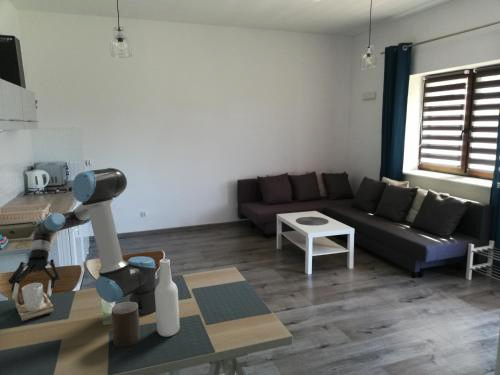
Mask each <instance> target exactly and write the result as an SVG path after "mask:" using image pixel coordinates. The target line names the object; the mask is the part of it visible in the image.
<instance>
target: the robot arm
mask: <svg viewBox="0 0 500 375" xmlns="http://www.w3.org/2000/svg"><path fill="white" fill-rule="evenodd" d="M71 186H72V187H71V188H72V191H71V192H72V194H73V197H74V199H75V200H76V201H77V202H79V203H80V204H79V205H78V206H77V207H76V208H75V209H73V210H72V211H71V210H70V211H68V212H63V213H59V212H53V213H51V214H49V215H47V217H45V219H41V220H38V221H36V223H35V226H34V232H33V238H32V241H31V247H30V252H29V257H28V261H27V262H24V261H21V262H20V263H19V266H18V267H17V268H16V270H15V271H14V272H13V274H12V275H11V277H10V278H9V279H8V282H7V283H9V284H10V285H11V289H10V290H11V292H12V297H11V298H12V299H13V301H15V300H16V299H18V297H17V294H19V289H20V283H21V282H22V281H23V280H24V279H25V278H26V277H27V276H28V275H30V274H31V273H32V272H33V273H36V272H42V271H44V273H45V274H46V275H47V277H48V278H50V279H49V280H48V285H47V292H46V295H47V297H52V291H53V289H54V288H55V286H56V282H57V281H59V280H60V279H61V276H60V274H59V272H58V269H57V268H56V262H55V260H54V259H50V260H48V259H49V255H50V254H49V252H50V249H51V242H52V237H53V236H54V235H55V234H57V232H60V231H63V230H67V229H71V228H74V227H78V226H82V225H85V224H87V223H89V222H90V224H91V228H92V232H93V236H94V241H95V244H96V248H97V253H98V256H99V257H98V258H99V262H100V268H99V269H98V277H97V278H96V280H95V282H94V287H95V291H96V293H97V294H98V295H99V297H100V298H101V299H102V300H103V301H105V302H107V303H114V302H117V301H120V300H122V299H123V298H125V297H127V296H128V299H127V302H135V303H137V305H138V315H139V316H143V315H148V314H151V313H152V314H153V313H155V312H156V304H155V288H156V286H157V273H156V272H157V268H156V262H155V259H153V258H152V257H149V256H140V255H139V256H133V257H129V259H127V261H125V260H124V259H123V255H122V254H123V253H122V250H121V246H120V241H119V239H118V233H117V229H116V224H115V221H114V215H113V212H112V207H111V204H112V202H113V201H114V199H116V198H118V197H119V196H120V195H121V194H122V193H124V191H125V190H126V188H127V186H128V180H127V177H126V175H125V174H124V172H123V171H121V170H120V169H117V168H115V167H114V168H113V167H107V168H101V169H94V170H93V169H92V170H86V171H82V172H80V173H78V174H76V176H75V177H74V179H73V181H72V185H71ZM47 266H50V267H51V270H52V272H53V274H54V276H53V275H52V273H51V272H50V271H49V270H48V269H47V268H46V267H47ZM24 269H25V270H24Z"/></svg>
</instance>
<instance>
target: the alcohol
mask: <svg viewBox="0 0 500 375" xmlns="http://www.w3.org/2000/svg"><path fill="white" fill-rule="evenodd" d="M170 265H171V260H170V259H169V258H162V259H160V260H159V282H158V283H157V284H156V288H155V304H156V311H155V318H156V319H155V320H156V332H157V333H158V334H159V336H161V337H172V336H174V335H176V334H177V333H178V332H179V331H180V326H181V325H180V312H179V308H180V306H179V292H178V291H179V290H178V286H177V284H176V283H175V282H174V281H173V280H172V273H171V266H170Z"/></svg>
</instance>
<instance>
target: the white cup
mask: <svg viewBox="0 0 500 375" xmlns="http://www.w3.org/2000/svg"><path fill="white" fill-rule="evenodd" d="M43 292H44V284H43V283H42V282H32V283H28V284H26V285H24V286H22V287H21V293H22V294H23V299H24V303H25V307H26V310H27V311H35V310H38V309H41V308H42V307H43V306H44V302H43Z"/></svg>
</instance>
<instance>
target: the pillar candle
mask: <svg viewBox="0 0 500 375" xmlns="http://www.w3.org/2000/svg"><path fill="white" fill-rule="evenodd" d="M139 316H140V315H138V305H137V303H135V302H128V301H124V302H118V303H116V304H115V305H113V306H112V307H111V322H112V323H111V324H112V337H113V338H112V340H113V345H114V346H115V347H118V348H129V347H132V346H134V345H136V344H137V343H138V342H139V341H140V339H141V332H140V320H139Z"/></svg>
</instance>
